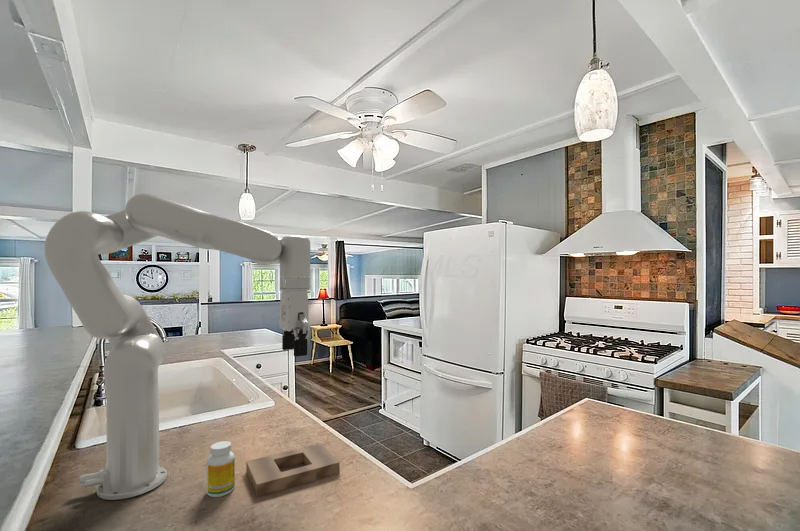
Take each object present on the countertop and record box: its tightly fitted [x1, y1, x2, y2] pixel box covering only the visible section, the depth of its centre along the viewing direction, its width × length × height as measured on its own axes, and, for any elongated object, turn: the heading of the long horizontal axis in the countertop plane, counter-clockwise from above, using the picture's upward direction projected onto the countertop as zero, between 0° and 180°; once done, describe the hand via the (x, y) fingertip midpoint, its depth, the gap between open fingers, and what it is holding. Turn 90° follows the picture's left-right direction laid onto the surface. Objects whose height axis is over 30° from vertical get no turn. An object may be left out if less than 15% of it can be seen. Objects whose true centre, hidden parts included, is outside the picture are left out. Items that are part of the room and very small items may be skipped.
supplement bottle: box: [206, 440, 236, 498], centre depth 83 cm, size 5×5×10 cm
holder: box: [245, 442, 341, 498], centre depth 90 cm, size 18×12×2 cm, turn 121°
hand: (294, 352), depth 100 cm, fingers open, 9 cm apart
